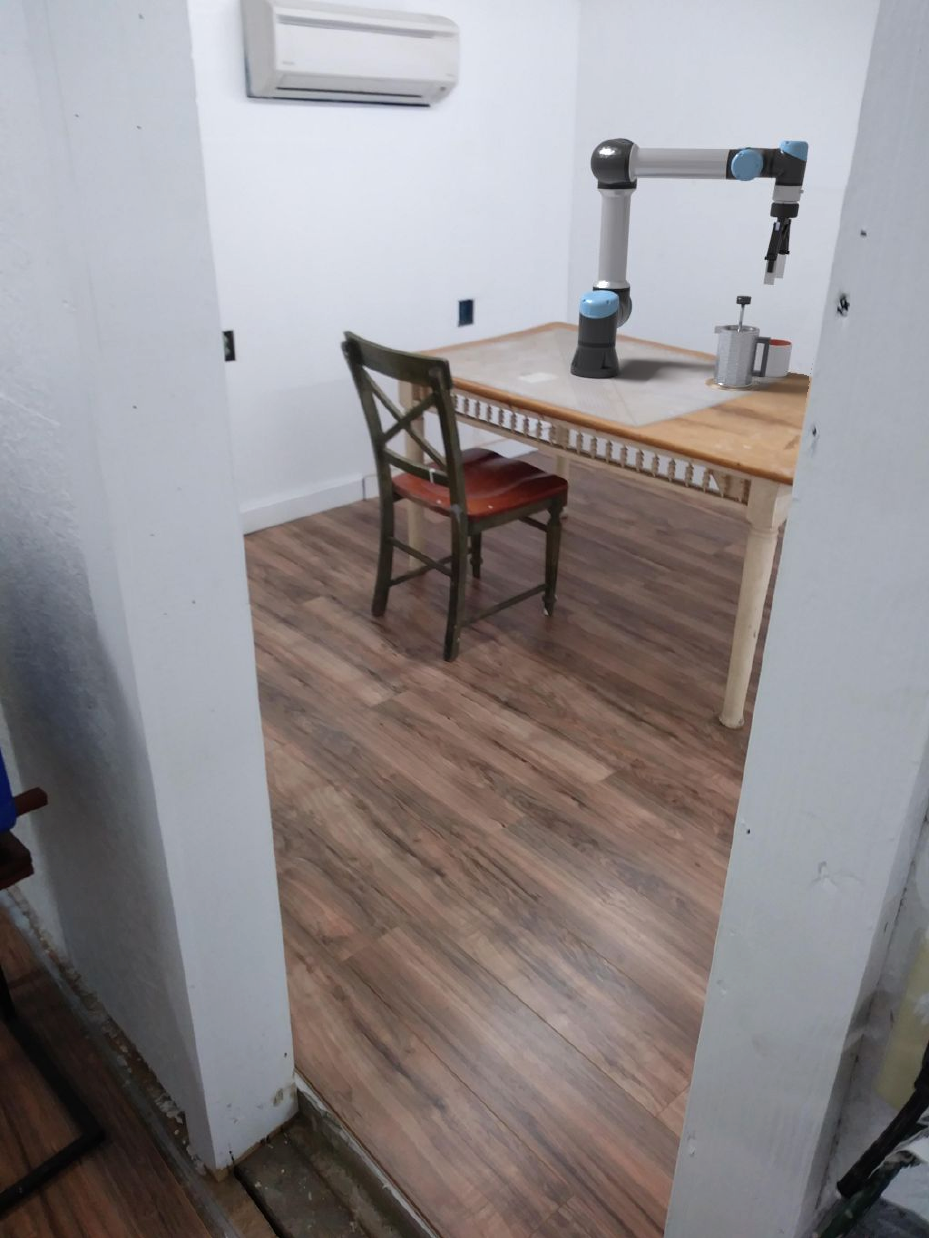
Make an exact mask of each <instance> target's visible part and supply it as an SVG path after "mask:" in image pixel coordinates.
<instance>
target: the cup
mask: <svg viewBox="0 0 929 1238" xmlns="http://www.w3.org/2000/svg"><path fill="white" fill-rule="evenodd" d="M792 348H793V342H792V341H789V340H783V339H776V338H771V341H770V348H769V355H768V361H767V368H766V374H765V377H766V378H784V377H786V376H787V375H788V372H789V367H790V361H791V355H792ZM763 349H764V344H763V343H758V347H757V354H756V361H755V367H754V370H760V369H761V363H762V356H763ZM765 377H764V378H765Z"/></svg>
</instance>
